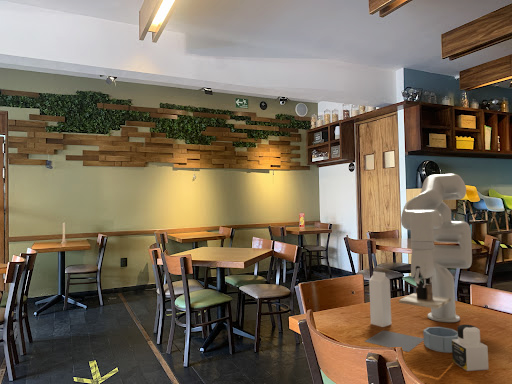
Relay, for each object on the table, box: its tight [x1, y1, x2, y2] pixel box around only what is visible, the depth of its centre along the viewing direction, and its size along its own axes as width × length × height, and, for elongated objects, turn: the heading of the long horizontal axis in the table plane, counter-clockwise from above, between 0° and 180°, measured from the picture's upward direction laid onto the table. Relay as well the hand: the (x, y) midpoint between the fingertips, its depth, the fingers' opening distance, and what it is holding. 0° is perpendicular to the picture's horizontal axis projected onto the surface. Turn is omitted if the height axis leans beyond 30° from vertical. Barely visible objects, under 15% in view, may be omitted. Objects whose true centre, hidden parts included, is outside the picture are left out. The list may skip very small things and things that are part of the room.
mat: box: [364, 329, 424, 353], centre depth 139 cm, size 16×16×1 cm
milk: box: [368, 271, 392, 328], centre depth 159 cm, size 6×6×22 cm
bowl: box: [422, 326, 458, 353], centre depth 132 cm, size 11×11×6 cm
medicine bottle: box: [451, 324, 490, 372], centre depth 117 cm, size 7×7×12 cm
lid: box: [398, 284, 451, 309], centre depth 135 cm, size 13×13×6 cm
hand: (424, 297), depth 135 cm, fingers closed on lid, 4 cm apart
